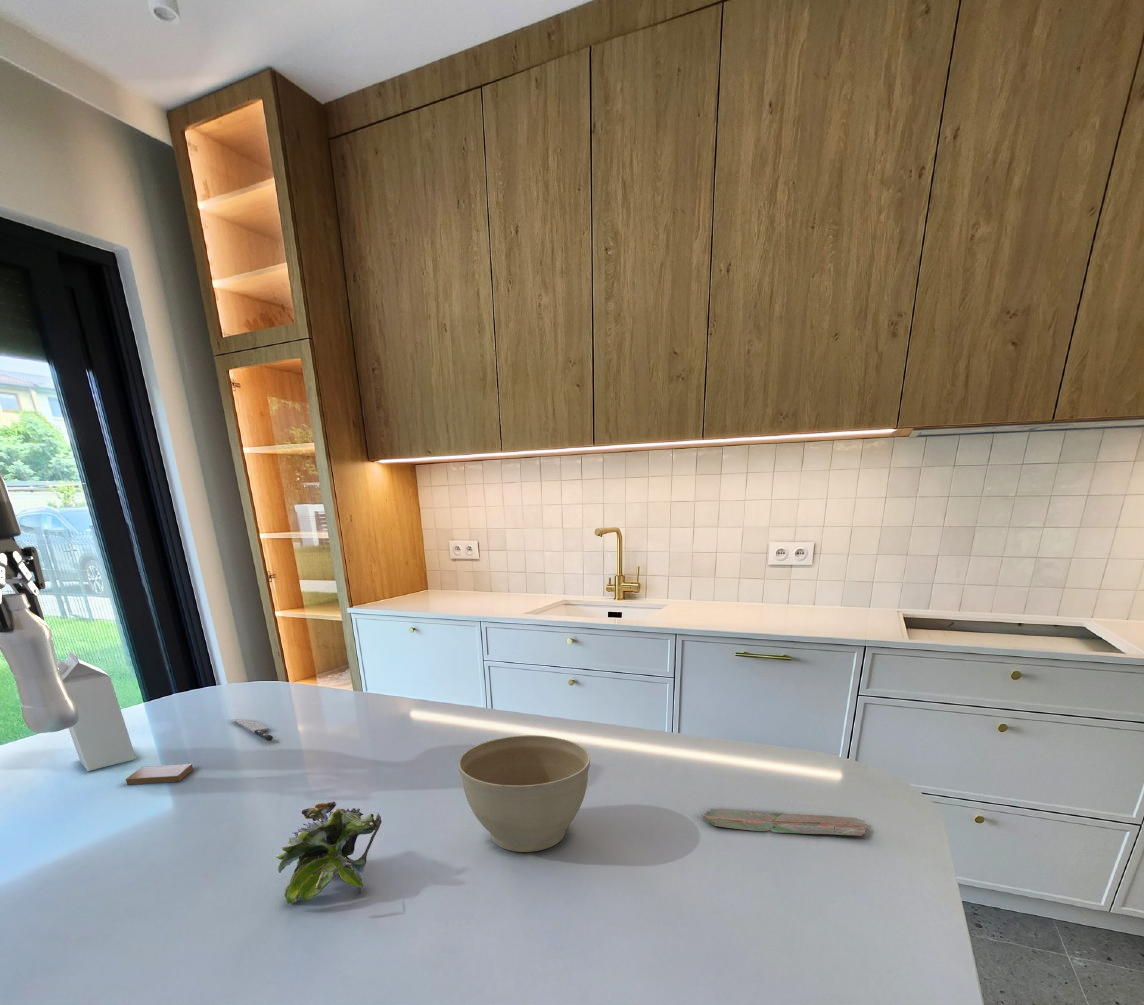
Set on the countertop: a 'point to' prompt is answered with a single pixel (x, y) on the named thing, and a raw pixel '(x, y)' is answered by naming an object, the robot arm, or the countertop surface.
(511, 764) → the planter bowl
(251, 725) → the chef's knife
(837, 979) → the countertop surface
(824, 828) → the map
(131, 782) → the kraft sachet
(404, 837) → the countertop surface
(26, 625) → the plastic bottle
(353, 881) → the passion flower
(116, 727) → the milk carton
